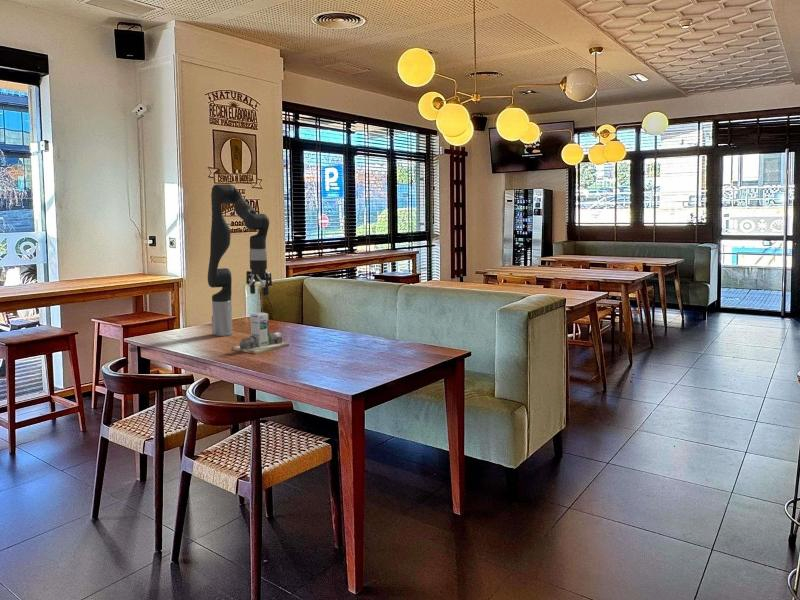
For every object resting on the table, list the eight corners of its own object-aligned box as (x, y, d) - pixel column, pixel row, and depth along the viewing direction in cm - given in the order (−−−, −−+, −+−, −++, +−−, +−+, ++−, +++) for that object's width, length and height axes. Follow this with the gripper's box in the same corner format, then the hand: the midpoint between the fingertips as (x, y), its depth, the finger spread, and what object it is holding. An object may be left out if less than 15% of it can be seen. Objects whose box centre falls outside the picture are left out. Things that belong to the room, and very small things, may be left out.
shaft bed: (231, 349, 281) (231, 335, 280) (266, 341, 297) (266, 328, 296) (255, 354, 271) (255, 340, 271) (290, 345, 288) (290, 332, 287)
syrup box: (259, 346, 280) (258, 314, 278) (251, 345, 284) (250, 313, 282) (269, 344, 285) (268, 313, 283) (260, 343, 288) (259, 311, 286)
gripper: (241, 258, 281) (242, 294, 283) (262, 260, 273) (263, 297, 275) (254, 257, 287) (255, 292, 289) (275, 259, 279) (276, 295, 281)
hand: (259, 294), depth 282 cm, fingers open, 8 cm apart
